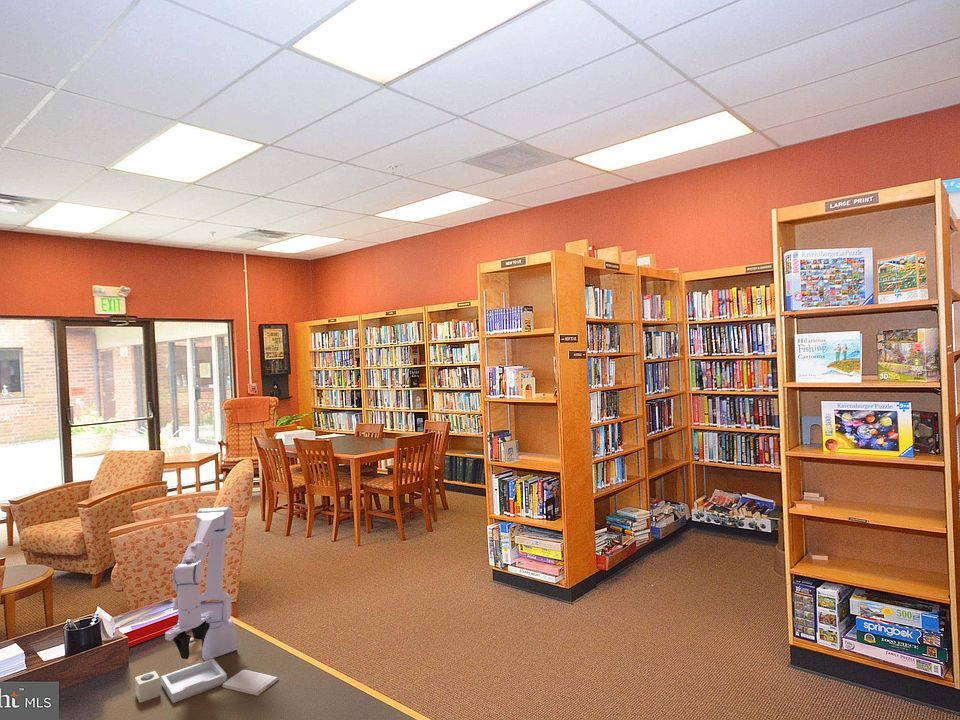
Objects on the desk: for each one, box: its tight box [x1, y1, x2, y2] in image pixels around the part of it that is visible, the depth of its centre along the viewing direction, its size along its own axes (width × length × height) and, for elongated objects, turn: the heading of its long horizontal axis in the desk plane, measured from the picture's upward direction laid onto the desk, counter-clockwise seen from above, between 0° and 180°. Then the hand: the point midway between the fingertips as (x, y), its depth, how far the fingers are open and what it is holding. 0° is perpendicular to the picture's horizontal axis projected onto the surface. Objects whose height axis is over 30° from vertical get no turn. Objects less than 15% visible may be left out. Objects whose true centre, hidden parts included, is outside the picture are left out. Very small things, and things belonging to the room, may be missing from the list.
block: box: [179, 636, 203, 665], centre depth 171 cm, size 4×4×5 cm
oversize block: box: [134, 670, 161, 704], centre depth 166 cm, size 5×5×5 cm
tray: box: [160, 658, 228, 704], centre depth 171 cm, size 14×12×2 cm
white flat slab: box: [222, 669, 279, 696], centre depth 170 cm, size 2×8×12 cm
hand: (191, 654), depth 171 cm, fingers closed on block, 4 cm apart
